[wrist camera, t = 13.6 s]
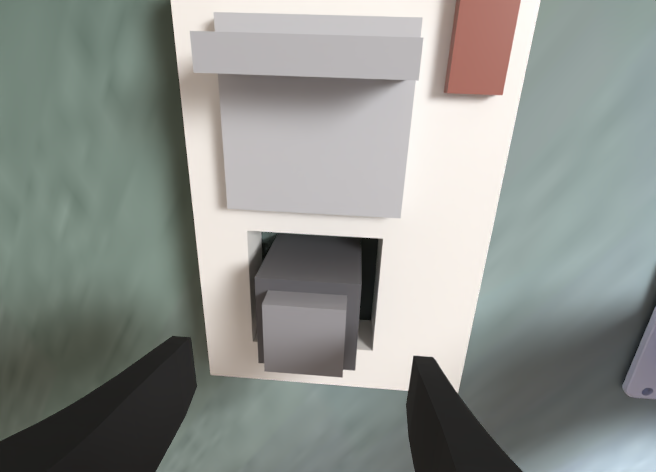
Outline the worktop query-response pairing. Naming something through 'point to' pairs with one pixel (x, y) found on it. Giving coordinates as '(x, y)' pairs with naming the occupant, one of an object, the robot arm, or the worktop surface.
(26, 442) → the robot arm
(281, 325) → the plug
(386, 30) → the shutter
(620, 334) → the worktop surface
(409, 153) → the socket plate
